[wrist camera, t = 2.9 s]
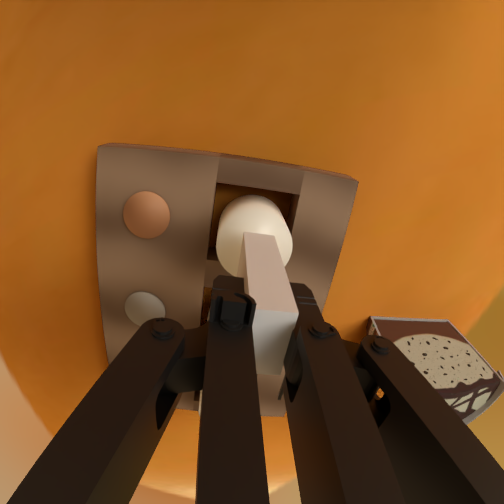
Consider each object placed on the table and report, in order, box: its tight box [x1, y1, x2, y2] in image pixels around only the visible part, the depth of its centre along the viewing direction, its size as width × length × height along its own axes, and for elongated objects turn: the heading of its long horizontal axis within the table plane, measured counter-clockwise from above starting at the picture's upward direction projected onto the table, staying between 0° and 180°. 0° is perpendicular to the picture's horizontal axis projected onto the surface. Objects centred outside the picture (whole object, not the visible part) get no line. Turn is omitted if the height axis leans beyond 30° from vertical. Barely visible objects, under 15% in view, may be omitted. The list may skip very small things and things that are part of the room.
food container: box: [367, 316, 504, 425], centre depth 23 cm, size 12×6×10 cm, turn 81°
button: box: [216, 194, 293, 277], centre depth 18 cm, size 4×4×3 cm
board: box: [96, 143, 359, 417], centre depth 23 cm, size 22×16×2 cm
